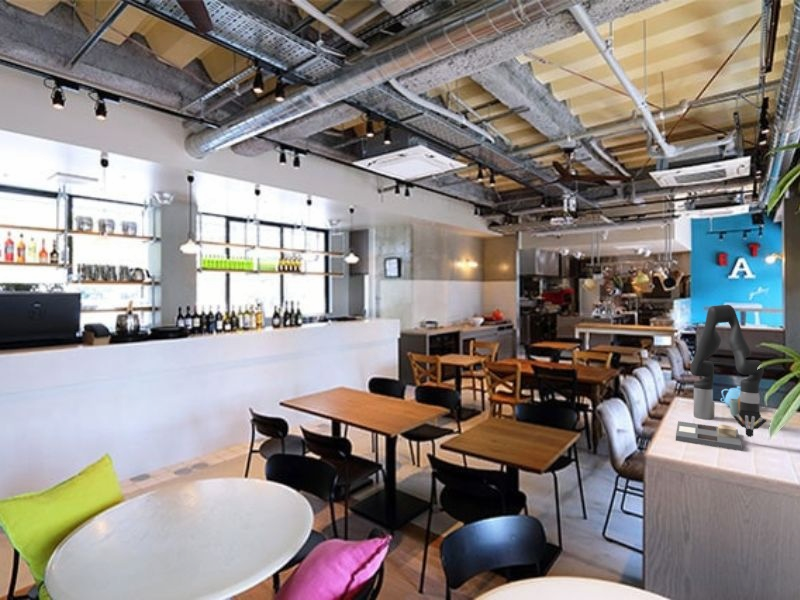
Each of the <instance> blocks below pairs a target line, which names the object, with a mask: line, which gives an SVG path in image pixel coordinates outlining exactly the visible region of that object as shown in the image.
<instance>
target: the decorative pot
mask: <svg viewBox="0 0 800 600" xmlns="http://www.w3.org/2000/svg"><path fill="white" fill-rule="evenodd" d="M724 392H726V394H724ZM740 392H741V385H740V386H739V385H738V386H736V387H730V388H729V389H728V388H724V389H722V390H721V396H722V397H721V398H720V402H722V403H725V404H726V406H728V407H729V408H730V399H738V397H739V396H740Z"/></svg>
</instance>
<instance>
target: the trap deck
mask: <svg viewBox="0 0 800 600" xmlns="http://www.w3.org/2000/svg"><path fill="white" fill-rule="evenodd" d="M739 433H740V432H739V430H738V429H737V428H736V438H729V437H723V436H718V425H717V426H715V425H708V424H699V423H693V422H687V421H679V420H678V422H677V426H676V432H675V441H678V442H683V443H690V444H696V445H704V446H710V447H715V448H721V449H728V450H734V451H742V450H743V449H742V448H743V446H742V442H741V438H740V434H739Z"/></svg>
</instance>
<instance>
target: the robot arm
mask: <svg viewBox="0 0 800 600" xmlns="http://www.w3.org/2000/svg"><path fill="white" fill-rule="evenodd" d="M723 323H728V324H729V326H730V333H729V337H728V344H729V347H730V349H731V352H732V354H733V357H734V363H735V369H736V370H737V372H738V373H739V374H741V375H744V376H745V375H746V376H747V375H748V377H746V378H744V379H741V381H740V387H741V392H740V411H739V414H737V415H734V417H733V419H734V420H735V421H736V422H737V424H738V423H739V424H738V425H740V426H741V427H742V428H744V429H745V435H746V436H747V437H749V438H752V437H753V436H754V430H758V429H759V428H760V427H762V426H763V425H764V424H766V422H767V419H766V418H764V417H762V415H761V413H760V410H761V409H760V405H761V403H760V402H761V400H760V397H761V396H760V383H761V381H762V377H763V375H764V372H765V371H764V370H765V367H764V366H763V368H760V369H758V370H757V367H758V366H759V365H760V364H763V363H762V362H761V360H757V359H746V358H749V357H751V355H752V351H751V349H750V346H749V345H748V343H747V341H746V338H745V337H744V334H743V331H742V328H741V325H740V322H739V319H738V315H737V313H736V310H735V309H734V307H733V306H732V305H731V304H720V305H718V304H717V305H712V306H710V307H709V308H708V310H707V313H706V318H705V322H704V328H703V331H702V334H701V337H700V340H699V343H698V346H697V350H696V353H695V354H694V357H693V359H692V360H691V364H690V366H689V367H690V374H691V375H692V376H694V377H703V378H702V379H700V380H696V381H695V382H694V383H693V417H695V418H697V419H702V420H712V419H715V409H716V408H715V405H716V404H715V401H714V397H713V396H714V380H715V379H714V378H715V377H714V376H715V366H714V362H713V361H710V360H706V359H708V358H709V357H711V356H713V355H714V354H715V353H717V351H718V350H719V348H720V345H721V343H722V338H721V335H720V334H719V332H718V331H717V329H716V327H717V325H718V324H723ZM739 416H740V417H741V418H742V419H743V420H744V421H745V424H743V423H742V422H741V420H740V417H739ZM758 419H759V422H758V423H757V424H756V425H755V426H754V422H756V421H757V420H758ZM749 422H750V426H749Z"/></svg>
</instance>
